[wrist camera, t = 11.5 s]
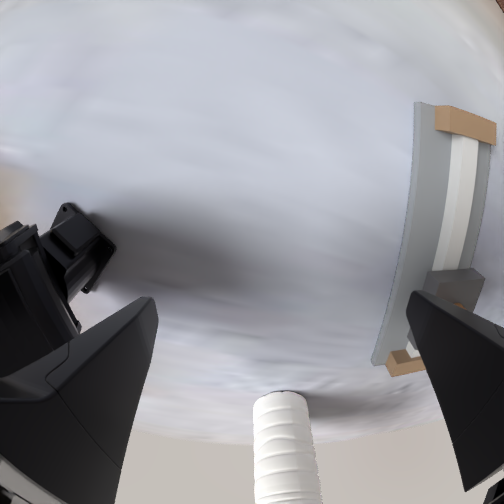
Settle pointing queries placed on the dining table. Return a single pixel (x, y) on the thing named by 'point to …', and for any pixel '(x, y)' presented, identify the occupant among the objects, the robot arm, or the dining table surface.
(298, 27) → the dining table surface
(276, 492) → the water bottle
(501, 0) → the letter holder
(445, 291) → the carriage
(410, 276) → the rail
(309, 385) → the dining table surface
